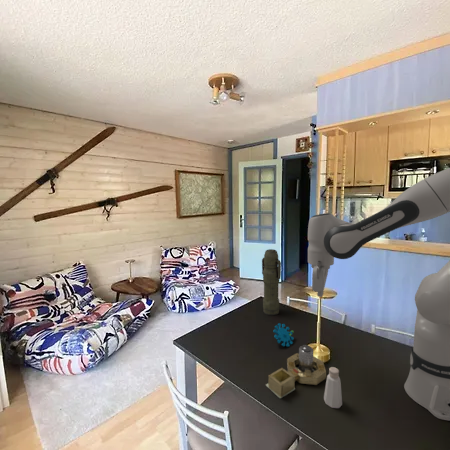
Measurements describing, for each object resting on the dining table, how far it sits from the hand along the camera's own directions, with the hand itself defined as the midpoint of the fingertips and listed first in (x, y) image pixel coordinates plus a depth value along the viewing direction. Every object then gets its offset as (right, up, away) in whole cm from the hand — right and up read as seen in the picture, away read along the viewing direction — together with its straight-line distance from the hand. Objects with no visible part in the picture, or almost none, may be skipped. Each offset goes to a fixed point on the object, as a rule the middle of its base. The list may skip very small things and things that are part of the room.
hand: (320, 295), depth 93 cm
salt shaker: (-1, -30, -13) cm, 33 cm away
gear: (-9, -27, +20) cm, 34 cm away
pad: (-16, -30, -6) cm, 34 cm away
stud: (-5, -29, +1) cm, 29 cm away
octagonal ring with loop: (-9, -29, -2) cm, 30 cm away
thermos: (-9, -23, +50) cm, 55 cm away
